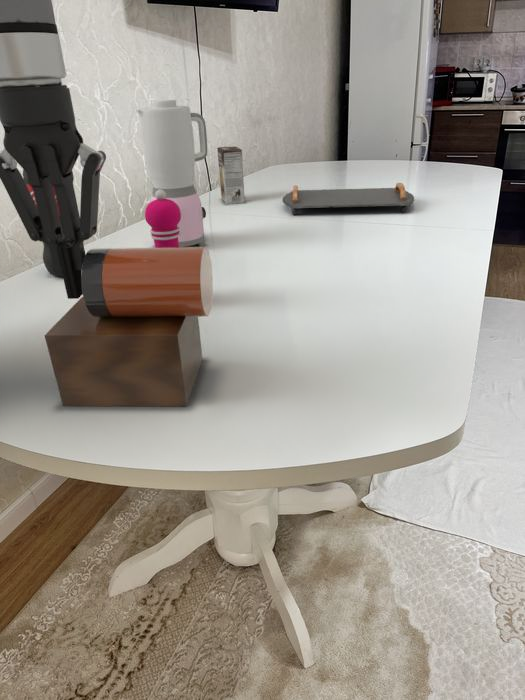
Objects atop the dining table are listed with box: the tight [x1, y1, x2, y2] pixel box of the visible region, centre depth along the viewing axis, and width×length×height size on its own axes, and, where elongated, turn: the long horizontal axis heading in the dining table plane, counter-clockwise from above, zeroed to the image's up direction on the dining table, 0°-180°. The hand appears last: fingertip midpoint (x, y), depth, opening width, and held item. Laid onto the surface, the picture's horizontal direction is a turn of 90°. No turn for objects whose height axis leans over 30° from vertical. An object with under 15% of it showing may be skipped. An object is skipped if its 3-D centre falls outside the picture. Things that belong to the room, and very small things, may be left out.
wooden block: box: [44, 296, 204, 407], centre depth 69 cm, size 16×12×10 cm
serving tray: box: [282, 182, 415, 216], centre depth 156 cm, size 39×23×6 cm, turn 86°
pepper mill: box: [144, 190, 181, 248], centre depth 91 cm, size 7×7×20 cm
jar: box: [81, 246, 214, 317], centre depth 64 cm, size 14×8×8 cm, turn 86°
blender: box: [136, 99, 208, 247], centre depth 121 cm, size 16×12×32 cm
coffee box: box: [216, 146, 246, 205], centre depth 167 cm, size 9×6×16 cm
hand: (77, 294), depth 66 cm, fingers closed
